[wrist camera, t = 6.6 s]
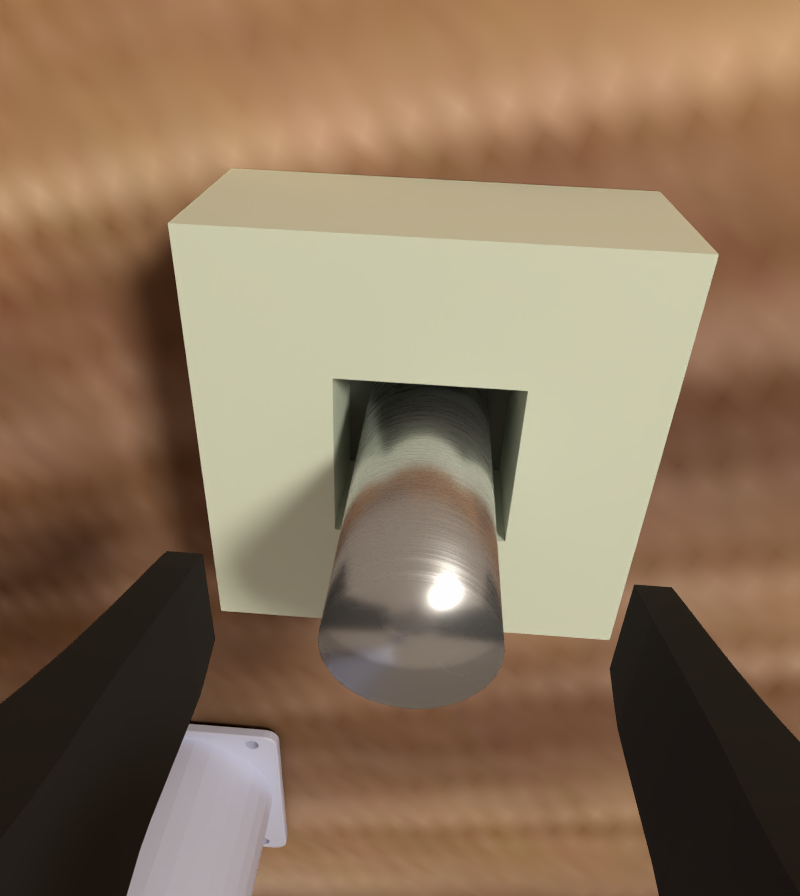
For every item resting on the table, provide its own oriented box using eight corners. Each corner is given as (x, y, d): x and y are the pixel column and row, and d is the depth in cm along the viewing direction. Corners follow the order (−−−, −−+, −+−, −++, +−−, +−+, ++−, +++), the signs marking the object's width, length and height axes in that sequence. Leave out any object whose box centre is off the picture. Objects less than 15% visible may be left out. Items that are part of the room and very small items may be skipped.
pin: (372, 452, 19) (326, 706, 13) (365, 350, 18) (308, 578, 11) (486, 453, 19) (501, 711, 12) (489, 349, 17) (507, 582, 11)
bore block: (260, 504, 23) (221, 610, 19) (231, 168, 17) (167, 222, 13) (583, 527, 22) (609, 640, 18) (659, 191, 17) (718, 254, 13)
